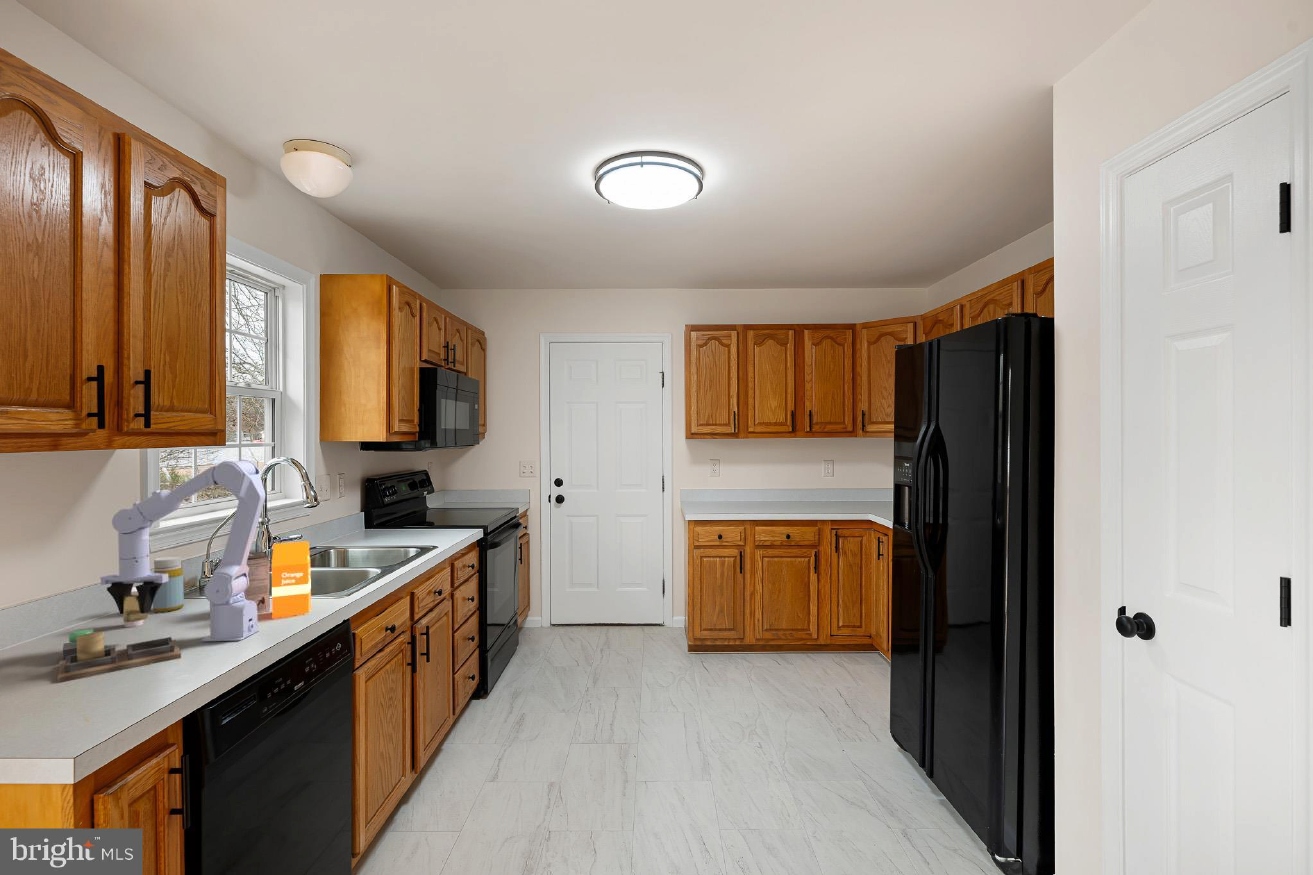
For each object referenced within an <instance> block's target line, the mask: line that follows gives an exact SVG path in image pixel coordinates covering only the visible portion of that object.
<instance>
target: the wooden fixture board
mask: <svg viewBox="0 0 1313 875" xmlns="http://www.w3.org/2000/svg"><path fill="white" fill-rule="evenodd" d="M176 658H177V659H181V658H182V652H181V651H180V646H179V645H178V644H177V641H176V639H173V638H172V636H169V637H168V636H167V637H163V638H158V639H152V640H146V641H142V642H141V641H140V642H136V643H130V644H126V648H123V649H118V650H116V647H115V646H114V647H108V648H105V632H101V631H100V632H99V631H98V632H93V633H89V634H84V635H81V636H78V637H77V654H75V655H69V656H66V660H64V661H63V660H60V661H59V666H58V667H59V668H58V675H57V683H62V682H68V681H74V680H77V679H83V678H87V677H88V678H89V677H93V676H97V675H103V674H107V673H106V672H108V673H112V672H117V671H116V670H118V671H122V669H123V670H127V669H128V670H129V669H131V668H132V667H133V668H137V667H141V666H146V665H151V663H152V664H157V663H161V661H162V662H166V661H167V662H168V661H171V660H176Z"/></svg>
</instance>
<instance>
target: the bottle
mask: <svg viewBox="0 0 1313 875" xmlns="http://www.w3.org/2000/svg"><path fill="white" fill-rule="evenodd" d="M153 567H154V568H153V570H154V571H153V573H162V574H168V581H167V582H164V583H162V585H161V587H160V588H159V590H158V591H157V593H156V595H155V598H154V601H153V604H152V610H153V611H154V612H155V613H159V612H161V613H168V611H170V612H175V611H177V610H181V609H182V608H183V607H184V603H185V602H184V601H185V600H184V572H183V570H182V557H181V556H179V555H176V556H175V555H174V556H173V555H172V556H171V555H170V556H164V557H163V556H162V557H158V558H154V560H153Z"/></svg>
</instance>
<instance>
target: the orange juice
mask: <svg viewBox="0 0 1313 875" xmlns="http://www.w3.org/2000/svg"><path fill="white" fill-rule="evenodd" d="M309 544H310V542H309V541H305V540H304V541H293V542H282V543H281V542H280V543H273V545H272V546H273V547H272V558H271V559H272V560H271V599H272V600H271V602H272V604H271V606H272V609H271V610H272V611H271V612H272V619H273V618H274V619H280V618H279V617H282V618H291V617H294V616H293V615H299V616H302V615H301V614H305V613H309V614H310V612H311V609H312V594H311V593H312V592H311V591H312V590H311V589H312V584H311V583H312V580H311V578H312V577H311V556H310V545H309ZM310 608H311V609H310ZM309 611H310V612H309ZM290 616H291V617H290Z"/></svg>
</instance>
